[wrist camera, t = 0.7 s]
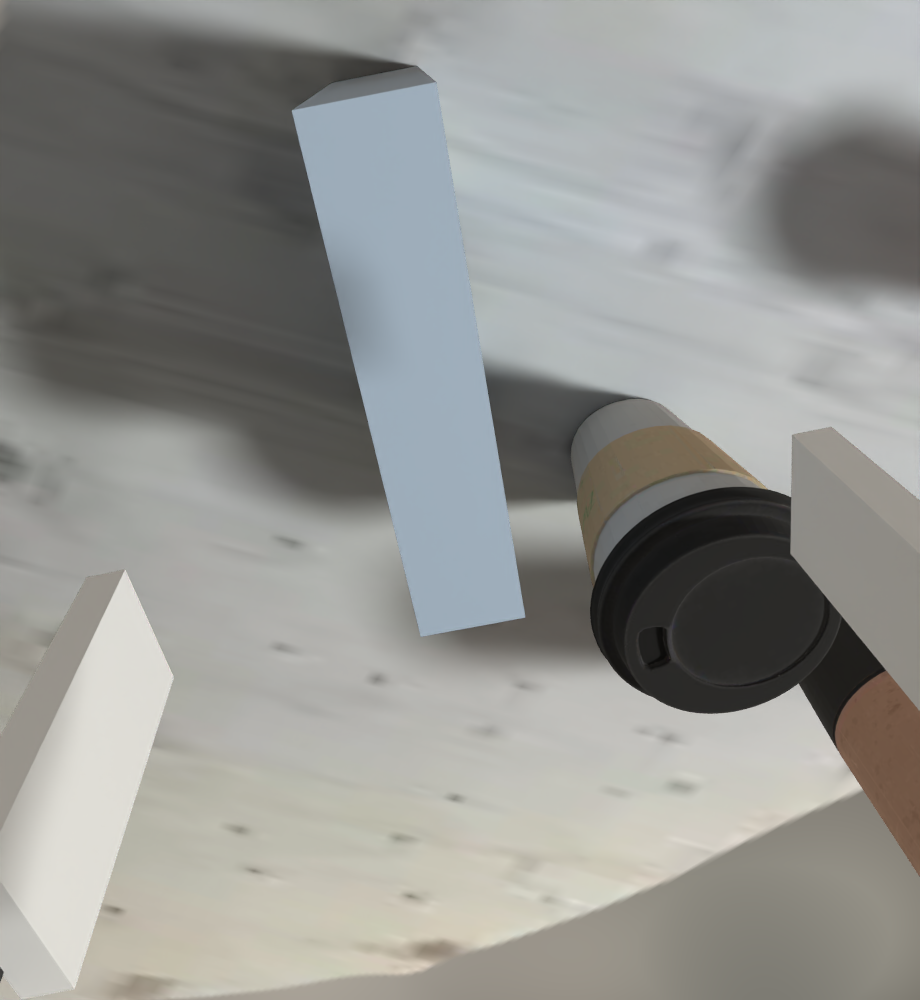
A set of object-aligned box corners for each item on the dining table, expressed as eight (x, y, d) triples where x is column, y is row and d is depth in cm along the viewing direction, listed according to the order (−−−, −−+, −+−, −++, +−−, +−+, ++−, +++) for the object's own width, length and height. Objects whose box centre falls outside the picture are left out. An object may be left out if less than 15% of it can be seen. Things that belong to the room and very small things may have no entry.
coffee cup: (499, 446, 42) (548, 628, 29) (651, 323, 40) (780, 460, 27) (608, 561, 46) (695, 767, 33) (753, 455, 44) (910, 633, 30)
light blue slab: (410, 437, 42) (420, 636, 28) (332, 82, 34) (291, 110, 20) (479, 424, 42) (525, 617, 28) (416, 66, 34) (435, 82, 20)
